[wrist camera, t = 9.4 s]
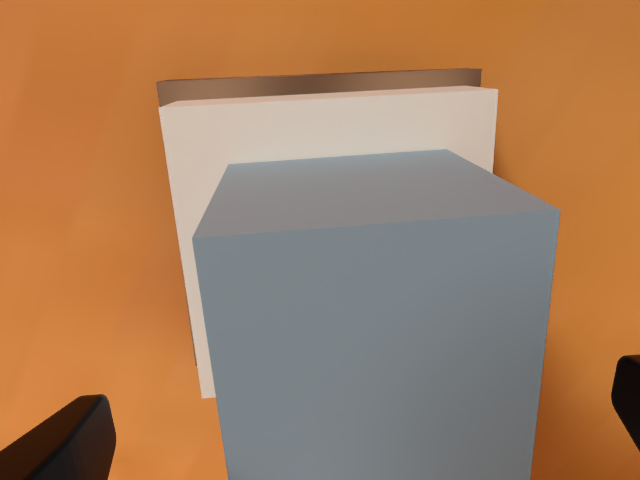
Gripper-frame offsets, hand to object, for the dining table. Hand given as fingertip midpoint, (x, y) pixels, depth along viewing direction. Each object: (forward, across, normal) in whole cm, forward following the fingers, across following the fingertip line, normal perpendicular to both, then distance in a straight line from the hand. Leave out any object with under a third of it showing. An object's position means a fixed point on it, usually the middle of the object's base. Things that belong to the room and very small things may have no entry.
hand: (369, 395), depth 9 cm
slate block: (+6, 0, 0) cm, 6 cm away
